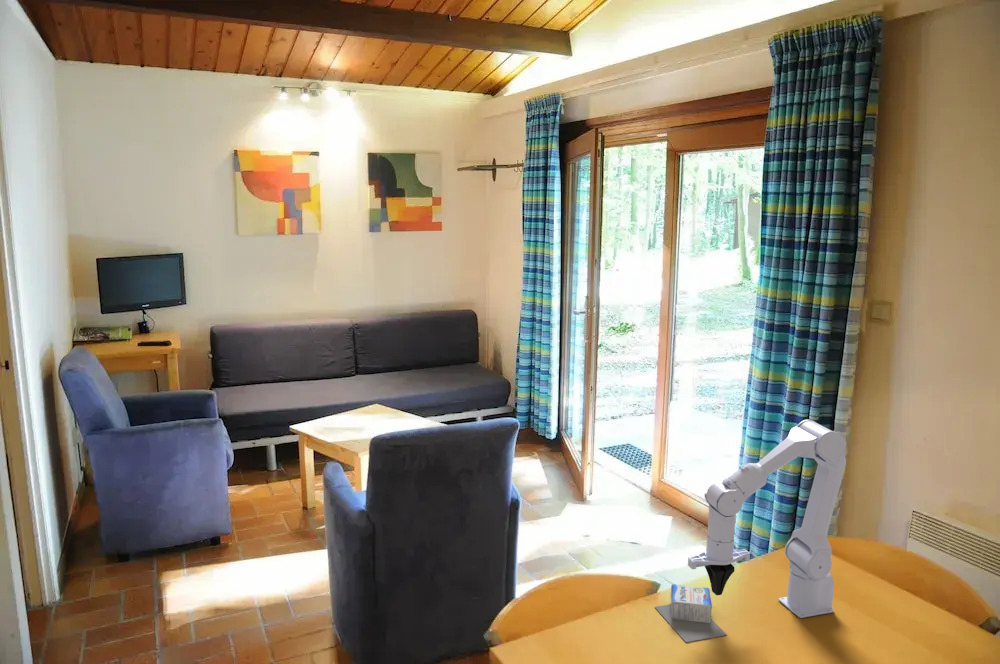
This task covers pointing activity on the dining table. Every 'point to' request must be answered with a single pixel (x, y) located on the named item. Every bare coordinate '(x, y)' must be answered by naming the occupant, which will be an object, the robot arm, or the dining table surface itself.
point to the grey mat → (691, 627)
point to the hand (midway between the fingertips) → (716, 592)
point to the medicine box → (691, 603)
